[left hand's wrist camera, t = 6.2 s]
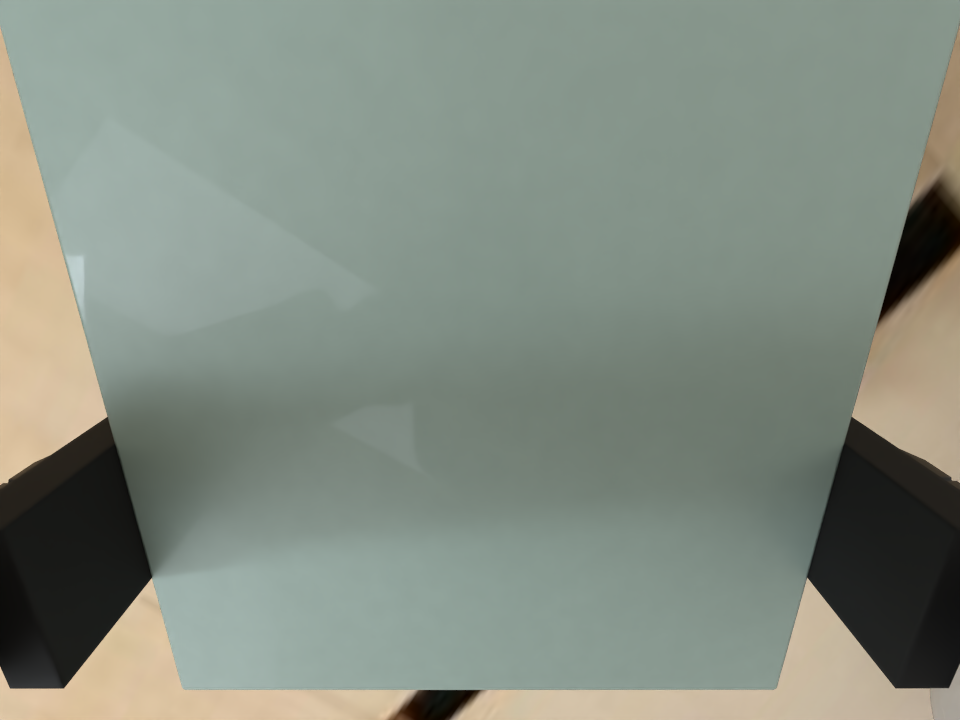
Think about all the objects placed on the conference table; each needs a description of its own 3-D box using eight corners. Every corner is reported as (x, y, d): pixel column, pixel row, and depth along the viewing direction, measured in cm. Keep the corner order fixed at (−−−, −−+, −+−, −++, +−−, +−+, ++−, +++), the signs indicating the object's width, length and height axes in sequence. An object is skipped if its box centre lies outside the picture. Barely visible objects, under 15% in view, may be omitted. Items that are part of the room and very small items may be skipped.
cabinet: (248, -257, 13) (-425, -1494, 3) (711, -257, 13) (1384, -1492, 3) (327, 435, 20) (181, 691, 10) (631, 435, 20) (777, 691, 10)
